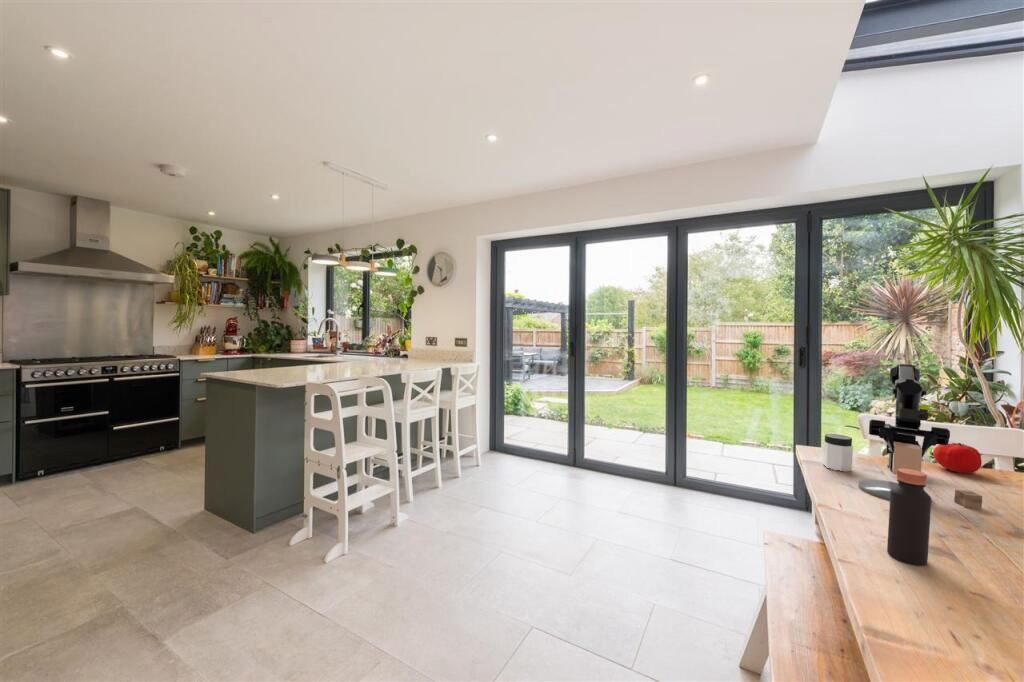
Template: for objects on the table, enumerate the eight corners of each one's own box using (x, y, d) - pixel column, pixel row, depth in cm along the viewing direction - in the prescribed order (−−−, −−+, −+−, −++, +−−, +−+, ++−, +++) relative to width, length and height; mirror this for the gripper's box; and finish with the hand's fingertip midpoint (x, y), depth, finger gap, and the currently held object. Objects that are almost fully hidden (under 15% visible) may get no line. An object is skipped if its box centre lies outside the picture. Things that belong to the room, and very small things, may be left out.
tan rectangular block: (892, 469, 137) (893, 441, 136) (918, 473, 133) (920, 445, 132) (892, 474, 132) (894, 445, 132) (920, 479, 128) (922, 449, 128)
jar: (854, 469, 157) (856, 437, 157) (848, 473, 152) (850, 440, 152) (825, 462, 164) (827, 432, 164) (819, 466, 159) (820, 435, 158)
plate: (863, 495, 132) (863, 492, 132) (853, 479, 146) (854, 475, 146) (938, 509, 123) (938, 505, 123) (920, 489, 138) (920, 486, 138)
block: (954, 502, 128) (954, 489, 128) (970, 504, 127) (971, 491, 127) (964, 507, 125) (965, 494, 124) (981, 509, 124) (982, 496, 123)
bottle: (914, 568, 92) (919, 478, 91) (879, 552, 99) (884, 468, 98) (935, 563, 94) (940, 475, 93) (899, 548, 101) (904, 465, 100)
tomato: (987, 479, 148) (989, 450, 148) (939, 472, 155) (940, 444, 154) (972, 468, 160) (973, 441, 159) (927, 462, 166) (929, 436, 166)
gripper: (870, 395, 141) (868, 434, 133) (951, 402, 128) (954, 446, 121) (869, 414, 147) (867, 453, 139) (946, 423, 135) (948, 466, 127)
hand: (907, 454), depth 131 cm, fingers closed on tan rectangular block, 6 cm apart
